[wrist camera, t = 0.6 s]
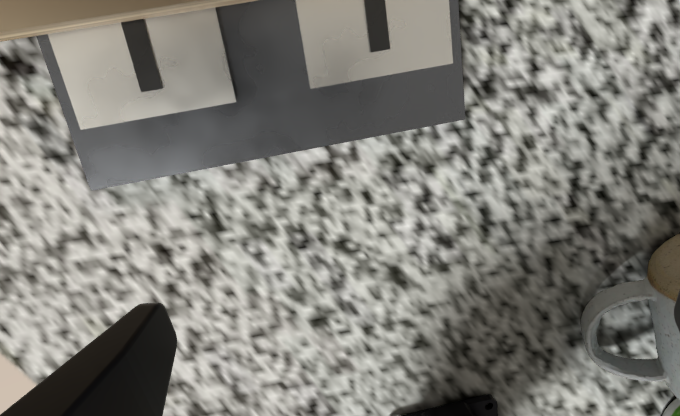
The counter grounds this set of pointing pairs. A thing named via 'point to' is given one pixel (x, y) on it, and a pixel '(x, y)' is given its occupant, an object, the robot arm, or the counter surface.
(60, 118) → the counter surface
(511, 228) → the counter surface
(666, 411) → the supplement bottle
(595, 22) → the counter surface
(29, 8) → the swing bar
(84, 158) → the panel
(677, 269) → the ceramic mug
